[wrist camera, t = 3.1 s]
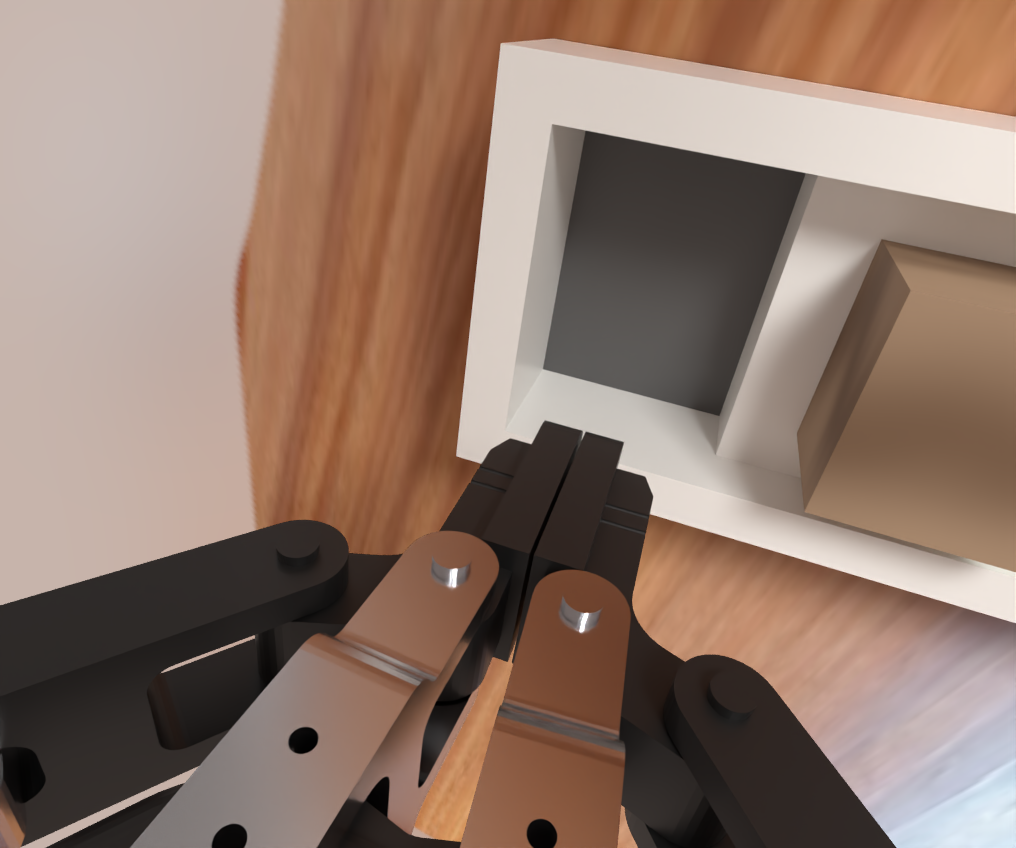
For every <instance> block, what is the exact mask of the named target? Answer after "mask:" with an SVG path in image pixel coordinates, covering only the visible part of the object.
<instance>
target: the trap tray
mask: <svg viewBox="0 0 1016 848" xmlns="http://www.w3.org/2000/svg"><path fill="white" fill-rule="evenodd" d="M881 239H883V240H888V241H893V242H897V243H902V244H907V245H912V246H917V247H922V248H926V249H931V250H936V251H941V252H946V253H950V254H955V255H960V256H965V257H970V258H975V259H979V260H984V261H989V262H994V263H999V264H1003V265H1008V266H1013V267H1016V117H1014V116H1008V115H1002V114H996V113H990V112H985V111H979V110H973V109H967V108H961V107H955V106H949V105H943V104H937V103H931V102H925V101H920V100H914V99H908V98H902V97H896V96H890V95H884V94H878V93H872V92H866V91H861V90H855V89H849V88H843V87H837V86H831V85H825V84H819V83H813V82H807V81H801V80H796V79H790V78H784V77H778V76H772V75H766V74H760V73H754V72H748V71H742V70H736V69H731V68H725V67H719V66H713V65H707V64H701V63H695V62H689V61H683V60H677V59H672V58H666V57H660V56H654V55H648V54H642V53H636V52H630V51H624V50H618V49H612V48H607V47H601V46H595V45H589V44H583V43H577V42H571V41H565V40H559V39H543V40H531V41H520V42H509V43H501V47H500V56H499V66H498V75H497V84H496V93H495V103H494V112H493V121H492V130H491V139H490V149H489V158H488V167H487V176H486V186H485V195H484V204H483V213H482V222H481V232H480V241H479V250H478V259H477V269H476V278H475V287H474V296H473V305H472V315H471V324H470V333H469V342H468V352H467V361H466V370H465V379H464V389H463V398H462V407H461V416H460V425H459V435H458V444H457V453H456V456H457V457H460V458H464V459H467V460H470V461H474V462H477V463H480V464H482V462H483V461H484V459H485V457H486V456H487V454H488V453H489V451H490V449H492V448H494V447H496V446H497V445H499V444H501V443H503V442H504V441H506V440H508V439H509V438H512V439H515V440H519V441H522V442H526V443H529V444H532V442H533V440H534V438H535V437H536V435H537V433H538V431H539V429H540V427H541V425H542V424H543V422H544V421H545V420H546V421H550V422H553V423H557V424H560V425H564V426H568V427H571V428H575V429H578V430H582V431H583V435H582V439H583V436H584V434H585V432H590V433H593V434H597V435H601V436H604V437H608V438H611V439H615V440H619V441H622V442H624V445H623V449H622V453H621V457H620V460H619V464H618V468H617V469H621V470H624V471H628V472H631V473H635V474H638V475H642V476H645V477H646V479H647V482H648V484H649V487H650V489H651V492H652V494H653V501H652V506H651V511H650V514H651V515H655V516H658V517H661V518H665V519H668V520H671V521H675V522H678V523H682V524H685V525H688V526H692V527H695V528H698V529H702V530H705V531H708V532H712V533H715V534H718V535H722V536H725V537H728V538H732V539H735V540H739V541H742V542H745V543H749V544H752V545H755V546H759V547H762V548H765V549H769V550H772V551H775V552H779V553H782V554H785V555H789V556H792V557H795V558H799V559H802V560H806V561H809V562H812V563H816V564H819V565H822V566H826V567H829V568H832V569H836V570H839V571H842V572H846V573H849V574H852V575H856V576H859V577H863V578H866V579H869V580H873V581H876V582H879V583H883V584H886V585H889V586H893V587H896V588H899V589H903V590H906V591H909V592H913V593H916V594H920V595H923V596H926V597H930V598H933V599H936V600H940V601H943V602H946V603H950V604H953V605H956V606H960V607H963V608H966V609H970V610H973V611H976V612H980V613H983V614H987V615H990V616H993V617H997V618H1000V619H1003V620H1007V621H1010V622H1013V623H1016V572H1013V571H1009V570H1006V569H1002V568H999V567H995V566H992V565H988V564H985V563H981V562H978V561H974V560H971V559H967V558H964V557H960V556H957V555H953V554H950V553H946V552H943V551H939V550H936V549H932V548H929V547H925V546H922V545H918V544H915V543H911V542H908V541H904V540H901V539H897V538H894V537H890V536H887V535H883V534H880V533H876V532H873V531H869V530H865V529H862V528H858V527H855V526H851V525H848V524H844V523H841V522H837V521H834V520H830V519H827V518H823V517H820V516H816V515H813V514H809V513H806V512H804V504H803V494H802V484H801V473H800V463H799V452H798V442H797V432H798V429H799V427H800V425H801V422H802V420H803V418H804V416H805V413H806V411H807V409H808V406H809V404H810V402H811V399H812V397H813V395H814V393H815V390H816V388H817V386H818V383H819V381H820V379H821V377H822V374H823V372H824V370H825V367H826V365H827V363H828V361H829V358H830V356H831V354H832V351H833V349H834V347H835V345H836V342H837V340H838V338H839V335H840V333H841V331H842V329H843V326H844V324H845V322H846V319H847V317H848V315H849V313H850V310H851V308H852V306H853V303H854V301H855V299H856V297H857V294H858V292H859V290H860V287H861V285H862V283H863V280H864V278H865V276H866V274H867V271H868V269H869V267H870V264H871V262H872V260H873V258H874V255H875V253H876V251H877V248H878V246H879V244H880V242H881Z"/></svg>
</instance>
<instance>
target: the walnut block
mask: <svg viewBox="0 0 1016 848" xmlns="http://www.w3.org/2000/svg"><path fill="white" fill-rule="evenodd" d="M797 442H798V452H799V463H800V473H801V484H802V494H803V504H804V512H806V513H809V514H813V515H816V516H820V517H823V518H827V519H830V520H834V521H837V522H841V523H844V524H848V525H851V526H855V527H858V528H862V529H865V530H869V531H873V532H876V533H880V534H883V535H887V536H890V537H894V538H897V539H901V540H904V541H908V542H911V543H915V544H918V545H922V546H925V547H929V548H932V549H936V550H939V551H943V552H946V553H950V554H953V555H957V556H960V557H964V558H967V559H971V560H974V561H978V562H981V563H985V564H988V565H992V566H995V567H999V568H1002V569H1006V570H1009V571H1013V572H1016V267H1013V266H1008V265H1003V264H999V263H994V262H989V261H984V260H979V259H975V258H970V257H965V256H960V255H955V254H950V253H946V252H941V251H936V250H931V249H926V248H922V247H917V246H912V245H907V244H902V243H897V242H893V241H888V240H883V239H881V242H880V244H879V246H878V248H877V251H876V253H875V255H874V258H873V260H872V262H871V264H870V267H869V269H868V271H867V274H866V276H865V278H864V280H863V283H862V285H861V287H860V290H859V292H858V294H857V297H856V299H855V301H854V303H853V306H852V308H851V310H850V313H849V315H848V317H847V319H846V322H845V324H844V326H843V329H842V331H841V333H840V335H839V338H838V340H837V342H836V345H835V347H834V349H833V351H832V354H831V356H830V358H829V361H828V363H827V365H826V367H825V370H824V372H823V374H822V377H821V379H820V381H819V383H818V386H817V388H816V390H815V393H814V395H813V397H812V399H811V402H810V404H809V406H808V409H807V411H806V413H805V416H804V418H803V420H802V422H801V425H800V427H799V429H798V432H797Z"/></svg>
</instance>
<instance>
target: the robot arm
mask: <svg viewBox="0 0 1016 848" xmlns="http://www.w3.org/2000/svg"><path fill="white" fill-rule="evenodd" d="M582 435H583V431H582V430H578V429H575V428H571V427H568V426H564V425H560V424H557V423H553V422H550V421H546V420H545V421H544V422H543V424H542V425H541V427H540V429H539V431H538V433H537V435H536V437H535V438H534V440H533V442H532V444H529V443H526V442H522V441H519V440H515V439H512V438H509V439H508V440H506V441H504V442H503V443H501V444H499V445H497V446H496V447H494V448H492V449H490V451H489V453H488V454H487V456H486V457H485V459H484V461H483V462H482V464H481V465H480V468H479V469H478V470H477V472H476V473H475V475H474V477H473V478H472V480H471V483H469V485H468V486H467V488H466V489H465V491H464V492H463V494H462V496H461V497H460V499H459V500H458V502H457V504H456V505H455V507H454V508H453V510H452V512H451V513H450V515H449V516H448V518H447V520H446V521H445V523H444V524H443V526H442V528H441V529H440V531H439V532H433V533H430V534H427V535H424V536H422V537H420V538H419V539H417V540H416V541H414V542H413V543H412V544H411V545H410V546H409V547H408V549H407V550H406V551H405V552H404V554H399V555H368V554H353V553H349V548H348V544H347V541H346V539H345V537H344V536H343V535H342V534H341V533H340V532H339V531H338V530H337V529H335V528H334V527H332V526H330V525H328V524H325V523H322V522H318V521H312V520H294V521H288V522H284V523H280V524H276V525H273V526H270V527H266V528H263V529H259V530H256V531H253V532H249V533H246V534H242V535H239V536H235V537H232V538H229V539H225V540H222V541H219V542H215V543H212V544H208V545H205V546H201V547H198V548H195V549H192V550H188V551H184V552H181V553H178V554H174V555H171V556H168V557H164V558H160V559H157V560H154V561H150V562H147V563H144V564H140V565H137V566H133V567H130V568H126V569H123V570H120V571H116V572H113V573H109V574H106V575H103V576H99V577H96V578H92V579H89V580H85V581H82V582H79V583H75V584H72V585H68V586H65V587H62V588H58V589H55V590H52V591H48V592H45V593H41V594H38V595H35V596H31V597H28V598H24V599H21V600H17V601H14V602H10V603H7V604H4V605H0V848H20V847H22V846H24V845H26V844H29V843H31V842H33V841H35V840H37V839H40V838H42V837H44V836H46V835H48V834H51V833H53V832H55V831H57V830H59V829H61V828H64V827H66V826H68V825H70V824H72V823H75V822H77V821H79V820H81V819H83V818H86V817H88V816H90V815H92V814H94V813H96V812H99V811H101V810H103V809H105V808H108V807H110V806H112V805H114V804H116V803H119V802H121V801H123V800H125V799H127V798H129V797H131V796H134V795H136V794H138V793H140V792H143V791H145V790H147V789H149V788H151V787H154V786H156V785H158V784H160V783H162V782H164V781H167V780H169V779H171V778H173V777H176V776H177V775H180V774H182V773H184V772H187V771H189V770H191V769H193V768H195V767H198V766H199V767H198V768H197V769H196V771H195V772H194V773H193V774H192V775H191V777H190V778H189V779H188V780H187V781H186V782H185V783H184V784H180V785H177V786H174V787H172V788H169V789H166V790H163V791H161V792H158V793H156V794H154V795H152V796H150V797H148V798H145V799H143V800H141V801H139V802H137V803H135V804H133V805H131V806H129V807H127V808H125V809H123V810H121V811H119V812H117V813H115V814H113V815H111V816H109V817H107V818H105V819H103V820H101V821H99V822H97V823H95V824H93V825H91V826H88V827H86V828H84V829H82V830H80V831H79V832H77V833H74V834H73V835H70V836H68V837H66V838H64V839H62V840H60V841H58V842H56V843H54V844H52V845H50V846H48V847H46V848H617V845H618V834H619V823H620V811H621V805H622V806H624V807H625V816H626V820H627V824H628V827H629V829H630V832H631V834H632V836H633V838H634V840H635V842H636V844H637V846H638V848H896V847H895V845H894V844H893V843H892V841H891V840H890V839H889V837H888V836H887V835H886V834H885V832H884V831H883V830H882V828H881V827H880V826H879V825H878V823H877V822H876V821H875V819H874V818H873V817H872V815H871V814H870V813H869V812H868V810H867V809H866V808H865V806H864V805H863V804H862V802H861V801H860V800H859V799H858V797H857V796H856V795H855V793H854V792H853V791H852V790H851V788H850V787H849V786H848V784H847V783H846V782H845V780H844V779H843V778H842V777H841V775H840V774H839V773H838V771H837V770H836V769H835V767H834V766H833V765H832V764H831V762H830V761H829V760H828V758H827V757H826V756H825V754H824V753H823V752H822V751H821V749H820V748H819V747H818V745H817V744H816V743H815V742H814V740H813V739H812V738H811V736H810V735H809V734H808V732H807V731H806V730H805V729H804V727H803V726H802V725H801V723H800V722H799V721H798V719H797V718H796V717H795V716H794V714H793V713H792V712H791V710H790V709H789V708H788V706H787V705H786V704H785V703H784V701H783V700H782V699H781V697H780V696H779V695H778V694H777V692H776V691H775V690H774V688H773V687H772V686H771V685H770V684H769V683H768V681H767V680H766V679H764V678H763V677H762V676H761V675H760V674H759V673H758V672H756V671H755V670H753V669H752V668H751V667H749V666H747V665H745V664H744V663H742V662H739V661H737V660H735V659H732V658H729V657H725V656H720V655H701V656H696V657H694V658H691V659H689V660H688V661H686V662H684V661H683V660H681V659H680V658H678V657H677V656H675V655H673V654H672V653H670V652H669V651H667V650H666V649H664V648H663V647H661V646H660V645H658V644H657V643H656V642H655V641H654V640H653V639H651V638H650V637H649V636H648V634H647V633H646V632H645V631H644V630H643V628H642V627H641V626H640V624H639V623H638V621H637V618H636V616H635V614H634V611H633V606H632V596H633V590H634V586H635V581H636V576H637V572H638V567H639V562H640V558H641V553H642V548H643V543H644V539H645V533H646V529H647V525H648V519H649V515H650V511H651V506H652V501H653V494H652V492H651V489H650V487H649V484H648V482H647V479H646V477H645V476H642V475H638V474H635V473H631V472H628V471H624V470H621V469H617V468H618V464H619V460H620V457H621V453H622V449H623V445H624V442H622V441H619V440H615V439H611V438H608V437H604V436H601V435H597V434H593V433H590V432H585V434H584V436H583V439H582ZM253 635H255V639H252V640H250V641H247V642H244V643H242V644H239V645H236V646H234V647H231V648H228V649H226V650H223V651H220V652H218V653H215V654H213V655H210V656H207V657H205V658H202V659H199V660H197V661H194V662H191V663H189V664H186V665H183V666H181V667H178V668H175V669H173V670H170V671H167V672H164V673H161V672H162V671H163V670H165V669H167V668H168V667H171V666H173V665H175V664H178V663H181V662H184V661H186V660H189V659H192V658H194V657H196V656H200V655H202V654H205V653H208V652H210V651H213V650H216V649H218V648H221V647H223V646H226V645H229V644H232V643H234V642H237V641H239V640H242V639H245V638H248V637H250V636H253ZM516 639H517V640H516ZM515 642H516V645H515ZM514 645H515V650H514V655H513V660H512V663H513V667H512V671H511V675H510V678H509V682H508V685H507V689H506V693H505V696H504V700H503V703H502V706H501V705H500V708H499V710H498V714H497V717H496V720H495V724H494V727H493V731H492V734H491V738H490V741H489V745H488V749H487V752H486V756H485V759H484V763H483V766H482V770H481V774H480V777H479V781H478V784H477V788H476V791H475V795H474V799H473V802H472V806H471V809H470V813H469V816H468V820H467V824H466V827H465V831H464V834H463V838H462V841H461V842H455V841H446V840H438V839H429V838H420V837H415V836H413V835H412V832H413V828H414V825H415V822H416V819H417V816H418V813H419V811H420V808H421V806H422V804H423V802H424V799H425V797H426V795H427V793H428V791H429V790H430V788H431V786H432V784H433V782H434V780H435V778H436V776H437V774H438V772H439V770H440V768H441V766H442V764H443V762H444V760H445V759H446V757H447V755H448V753H449V751H450V749H451V747H452V745H453V743H454V741H455V739H456V737H457V735H458V733H459V731H460V729H461V727H462V726H463V724H464V722H465V720H466V718H467V716H468V714H469V712H470V710H471V708H472V706H473V704H474V702H475V700H476V698H477V695H478V690H479V685H480V684H481V683H482V681H483V679H484V677H485V674H486V672H487V670H488V667H489V665H490V662H491V660H492V657H495V658H498V659H501V660H504V661H506V662H508V660H509V657H510V655H511V652H512V650H513V647H514Z"/></svg>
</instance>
